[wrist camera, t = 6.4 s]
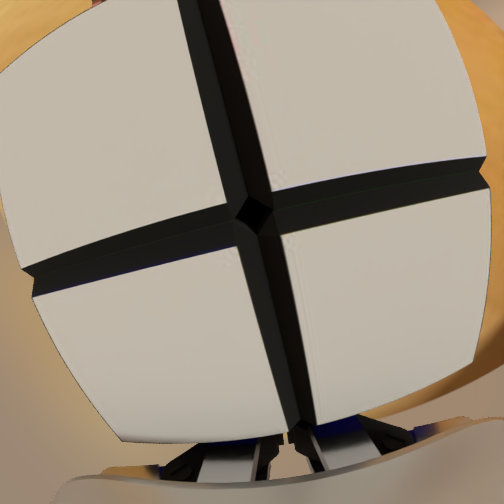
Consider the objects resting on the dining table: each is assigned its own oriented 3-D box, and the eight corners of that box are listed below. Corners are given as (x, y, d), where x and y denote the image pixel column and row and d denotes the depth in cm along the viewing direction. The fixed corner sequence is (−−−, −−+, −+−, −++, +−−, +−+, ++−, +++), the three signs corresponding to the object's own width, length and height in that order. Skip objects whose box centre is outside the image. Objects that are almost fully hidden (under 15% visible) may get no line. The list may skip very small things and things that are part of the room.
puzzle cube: (183, 299, 15) (119, 448, 6) (132, 122, 12) (-15, 77, 3) (359, 257, 15) (479, 365, 5) (320, 75, 12) (420, -37, 2)
